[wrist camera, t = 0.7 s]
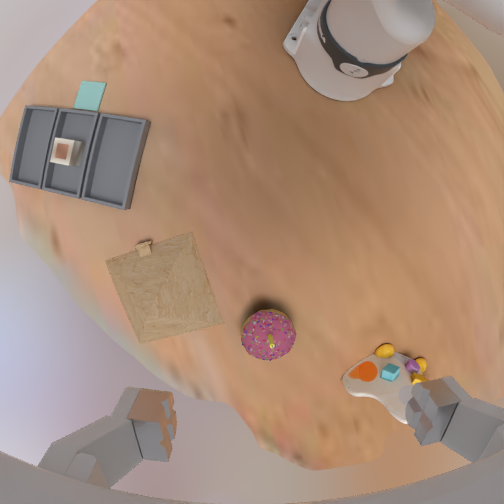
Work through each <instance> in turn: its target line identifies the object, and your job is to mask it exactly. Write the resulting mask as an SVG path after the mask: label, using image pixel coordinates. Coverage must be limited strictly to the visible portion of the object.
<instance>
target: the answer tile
mask: <svg viewBox="0 0 504 504" xmlns="http://www.w3.org/2000/svg"><path fill="white" fill-rule="evenodd" d="M106 84H107V83H101V82H89V81H82V82H81V85H80V89H79V92H78V95H77V98H76V102H75V105H74V109H83V110H91V111H98V110H99V107H100V103H101V100H102V97H103V94H104V90H105V87H106Z"/></svg>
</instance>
